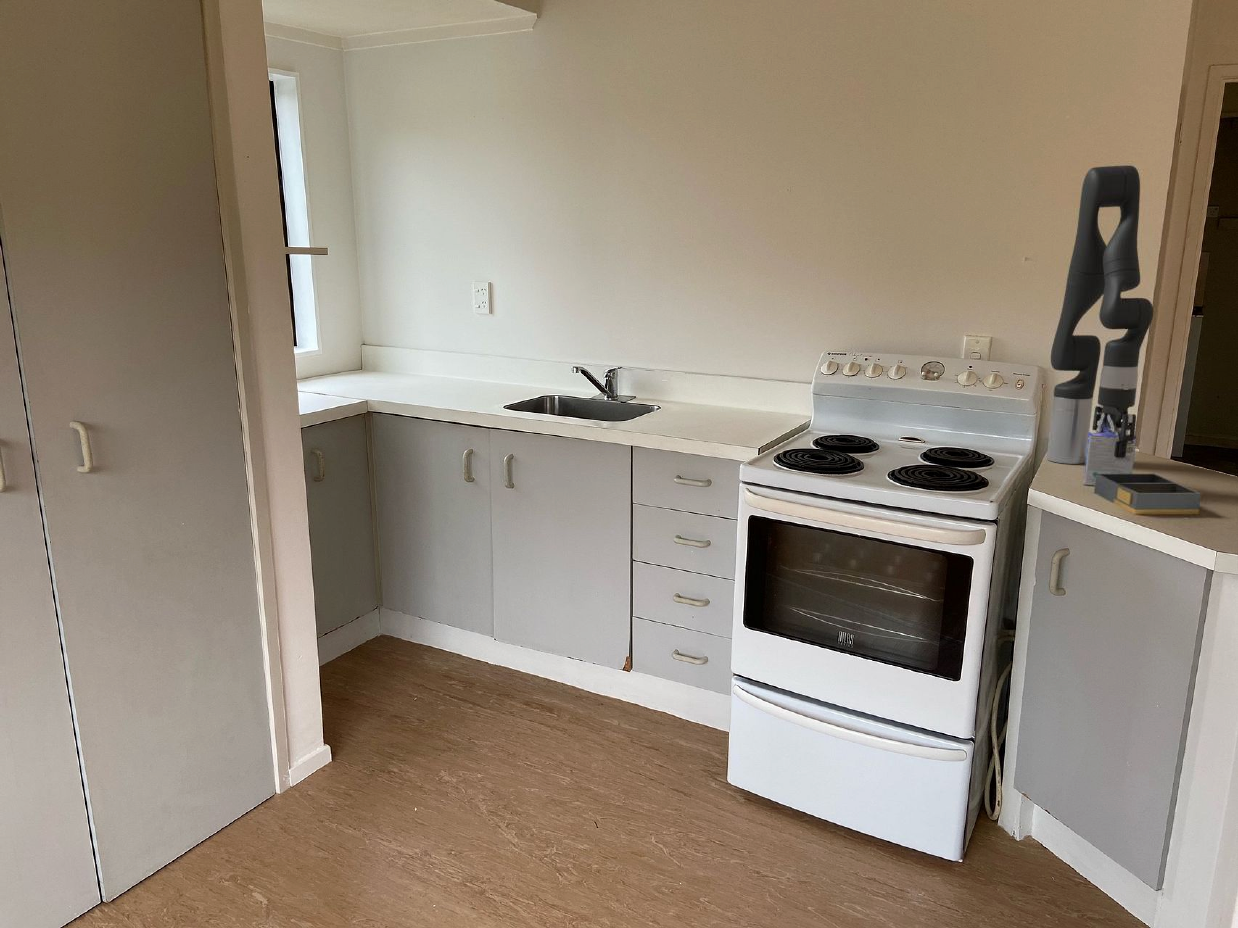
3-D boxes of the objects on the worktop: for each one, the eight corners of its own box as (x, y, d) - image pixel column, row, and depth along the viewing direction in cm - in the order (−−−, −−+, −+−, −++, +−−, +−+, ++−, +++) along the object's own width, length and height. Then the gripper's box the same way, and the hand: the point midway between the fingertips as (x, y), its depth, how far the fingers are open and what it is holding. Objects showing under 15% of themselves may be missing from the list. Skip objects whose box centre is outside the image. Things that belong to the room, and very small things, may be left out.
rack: (1092, 492, 195) (1095, 473, 194) (1152, 492, 194) (1154, 473, 193) (1133, 514, 178) (1135, 493, 177) (1198, 514, 177) (1201, 493, 176)
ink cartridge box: (1129, 483, 202) (1136, 424, 198) (1131, 489, 197) (1139, 428, 194) (1082, 480, 206) (1088, 421, 203) (1083, 485, 201) (1090, 425, 198)
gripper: (1086, 381, 203) (1079, 447, 207) (1117, 389, 189) (1109, 460, 193) (1118, 381, 203) (1111, 447, 206) (1151, 389, 189) (1143, 460, 192)
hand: (1110, 453), depth 199 cm, fingers open, 8 cm apart
